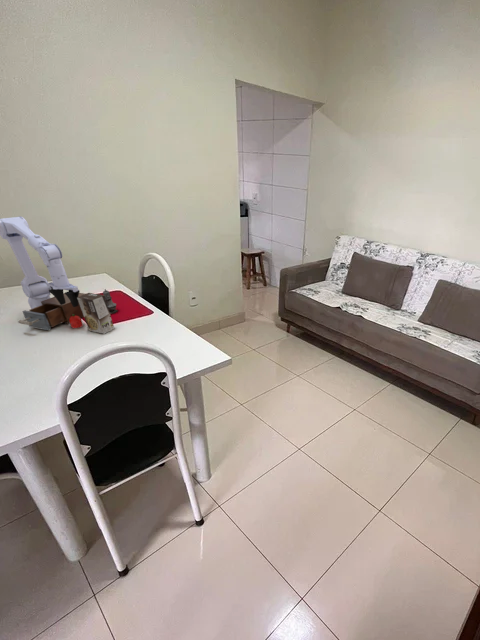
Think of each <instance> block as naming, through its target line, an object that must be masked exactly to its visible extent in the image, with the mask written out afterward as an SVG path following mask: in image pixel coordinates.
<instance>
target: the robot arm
mask: <svg viewBox="0 0 480 640" xmlns="http://www.w3.org/2000/svg"><path fill="white" fill-rule="evenodd" d="M0 238H1V239H3V240H7V242H8V245H9V246H10V248H11V250H12V252H13V254H14V256H15V259H16V261H17V263H18V265H19V267H20V269H21V271H22V273H23V275H24V277H23V278H22V280H21V281H20V285H21V287H22V292H23V293H24V295H25V296H26V297H27V303H28V305H29V308H30V309H33V308H35V307H38V306H41V305H42V304H41V301H44V300H47V299H49V298H51V295H52V296H53V297H55V298H56V299H57V300H58V302H59V303H60V304H61V305H63V304H65V303H66V302H65V298H64V293H65V294H66V295H67V297H68V298H69V299H70V301H71V304H72V306H73V307H76V306H78V299H77V297H78V295H79V293H81V292H80V291H81V290H80V289H79V287H78V286H77V285H74V284H72V283H70V281H69V278H68V275H67V272H66V269H65V266H64V263H63V261H62V258H63V252H62V249H61V248H60V247H59V246H58V245H57V244H56V243H50V242H49V241H48V240H46V239H45V238H44V237H43V236H42V235H40V234H36V233H35V232H33V230H31V228H30V225H29V222H28V221H27V220H26V219H25V217H23V216H20V215H18V216H13V217H3V218H0ZM23 238H24V239H25V240H27V244H28V245H29V246H30V247H31V248H32V249H34V251H36V252H37V253H38V255H39V257H40V259H41V260H42V263H43V264H44V265H45V267H46V268H47V271H48V274H49V277H50V279H51V282H49V281H48V280H47V278H45V276H41V275H39V274H38V272H37V269H36V268H35V266H34V264H33V262H32V259H31V257H30V255H29V253H28V251H27V248H26V245H25V244H24V242H23ZM64 291H66V292H64Z"/></svg>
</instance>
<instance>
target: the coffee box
mask: <svg viewBox="0 0 480 640" xmlns="http://www.w3.org/2000/svg"><path fill="white" fill-rule="evenodd" d="M77 299H78V302H79V304H80V307H81V310H82V312H83V315H84V317H83V318H84V321H85V322H86V326H87V329H88V331H90V332H94V333H99V334H103V335H105V334H106V333H109V332H110V331H113V330H115V326H114V323H113V319H112V316H111V314H110V312H109V309H108V306H107V303H106V299H105V296H104V295H103V294H99V293H93V292H87V293H84V295H82V296H79V297H77Z"/></svg>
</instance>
